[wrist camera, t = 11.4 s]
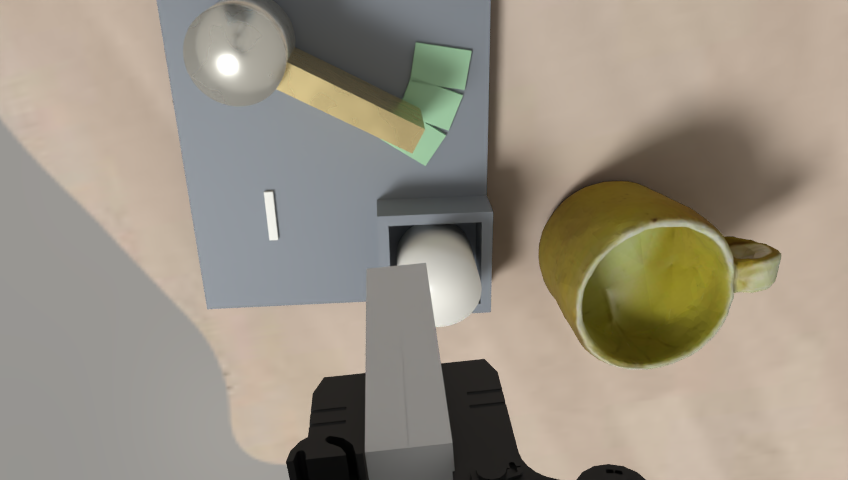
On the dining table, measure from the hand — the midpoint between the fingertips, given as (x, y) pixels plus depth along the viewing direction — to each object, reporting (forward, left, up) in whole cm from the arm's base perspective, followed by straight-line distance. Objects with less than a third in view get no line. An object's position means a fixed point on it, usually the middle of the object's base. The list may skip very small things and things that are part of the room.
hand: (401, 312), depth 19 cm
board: (+1, -3, -24) cm, 25 cm away
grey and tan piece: (-2, -4, -23) cm, 23 cm away
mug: (+10, +15, -25) cm, 31 cm away
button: (+9, +2, -22) cm, 24 cm away
